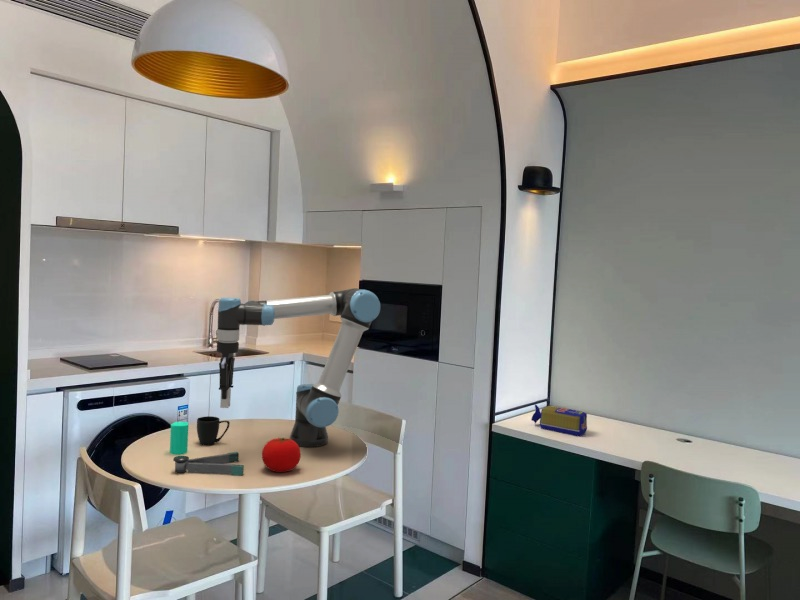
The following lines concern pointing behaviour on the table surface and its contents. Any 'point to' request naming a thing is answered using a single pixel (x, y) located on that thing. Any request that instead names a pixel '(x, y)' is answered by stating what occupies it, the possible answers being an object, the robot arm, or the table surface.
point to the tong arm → (217, 459)
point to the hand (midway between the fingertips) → (225, 406)
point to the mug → (209, 430)
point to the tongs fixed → (206, 467)
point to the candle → (179, 438)
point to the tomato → (281, 454)
